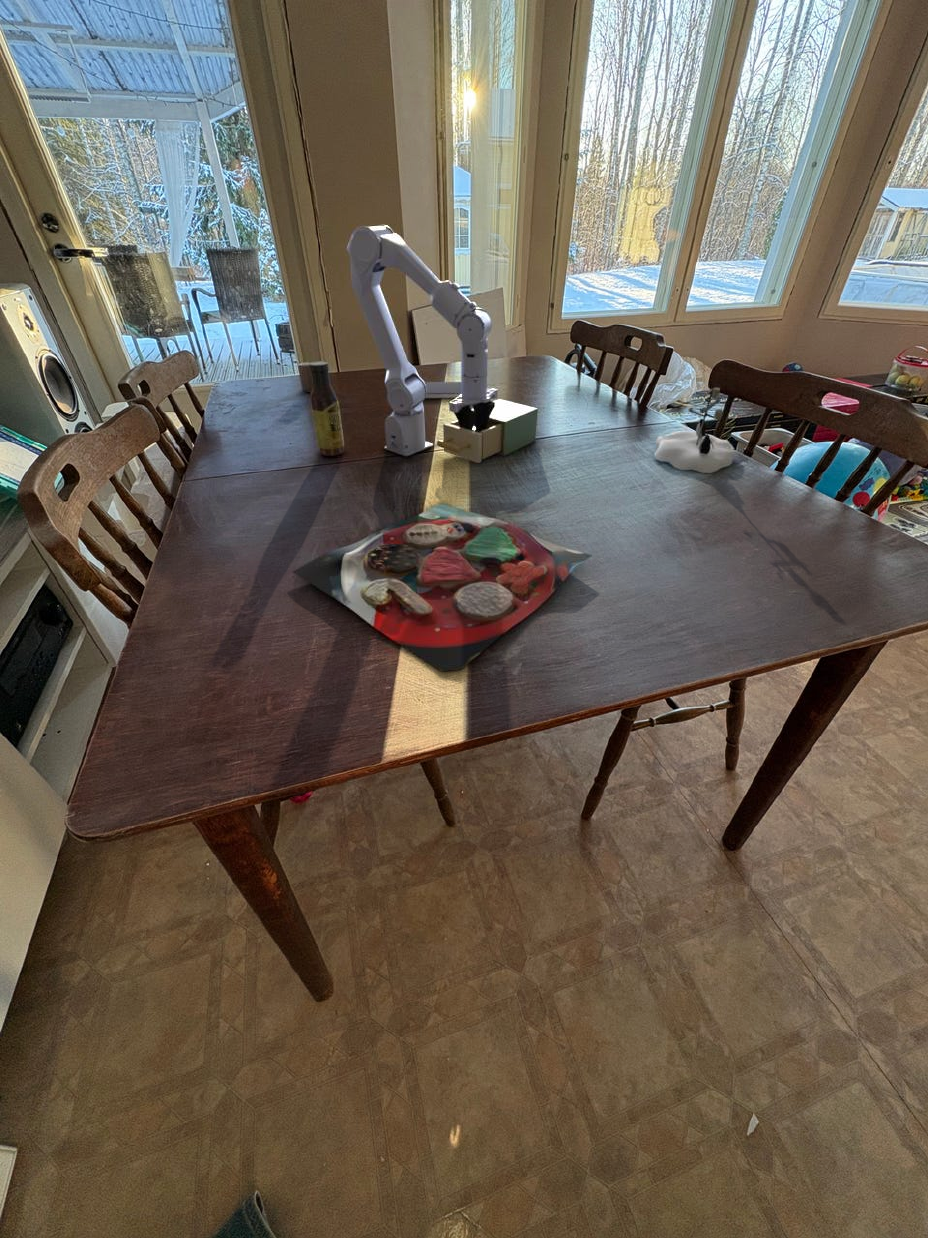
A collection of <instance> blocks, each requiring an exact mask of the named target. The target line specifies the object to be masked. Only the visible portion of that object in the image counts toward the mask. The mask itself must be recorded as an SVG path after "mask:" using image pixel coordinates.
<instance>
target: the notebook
mask: <svg viewBox="0 0 928 1238" xmlns="http://www.w3.org/2000/svg"><path fill="white" fill-rule="evenodd" d="M424 382H425V384H426V388H427V394H426V397H425V399H433V400H434V399H435V400H436V399H442V400H443V399H444V400H445V399H456V398H457V397H458V396H460V395H461V381H424ZM425 399H424V400H425Z"/></svg>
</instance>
